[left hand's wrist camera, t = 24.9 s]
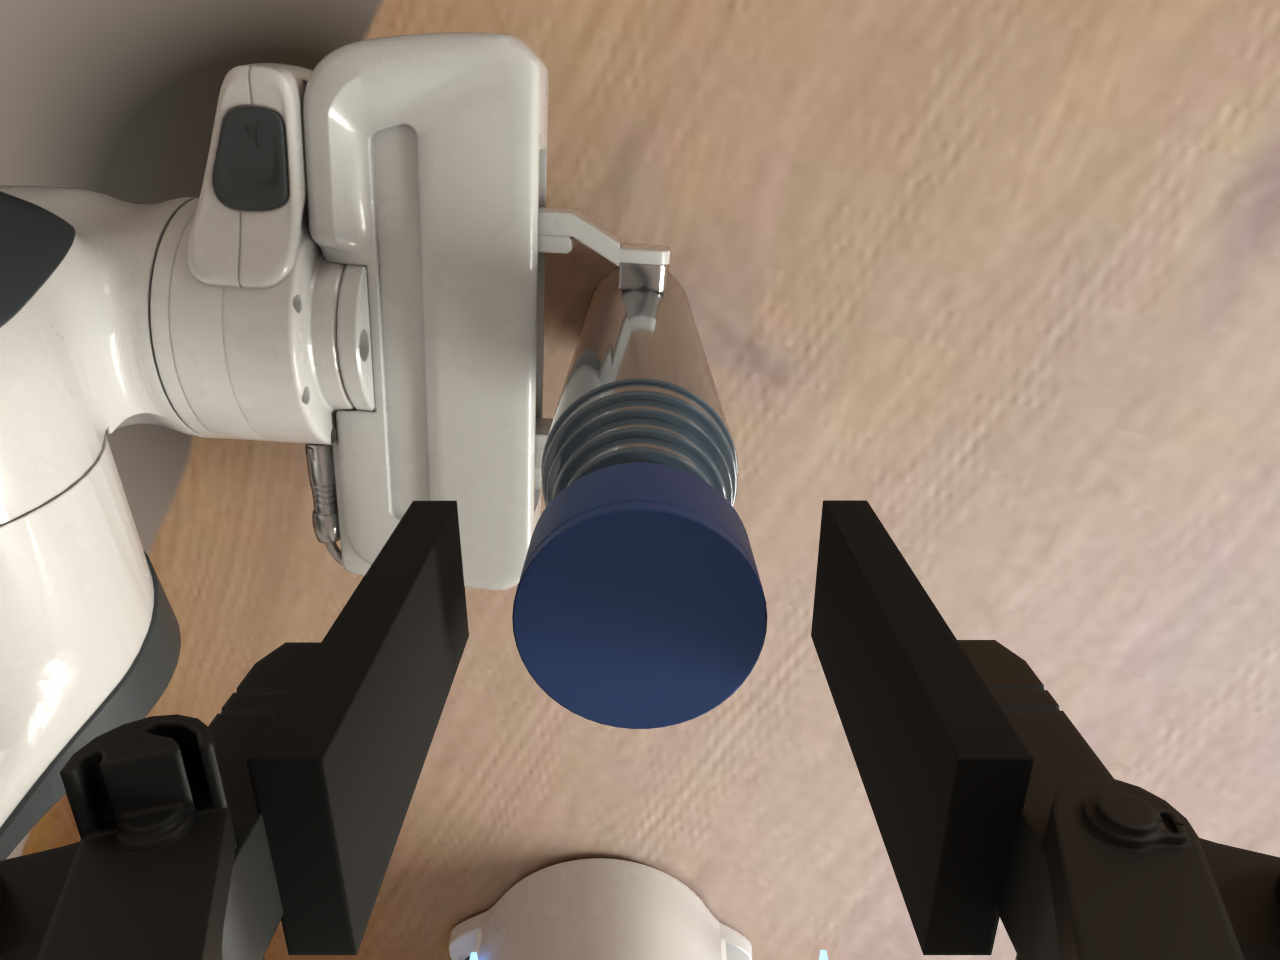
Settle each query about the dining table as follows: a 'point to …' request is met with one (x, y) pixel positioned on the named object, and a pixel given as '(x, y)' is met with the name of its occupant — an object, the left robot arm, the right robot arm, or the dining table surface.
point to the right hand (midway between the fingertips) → (663, 347)
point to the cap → (639, 598)
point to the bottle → (639, 394)
